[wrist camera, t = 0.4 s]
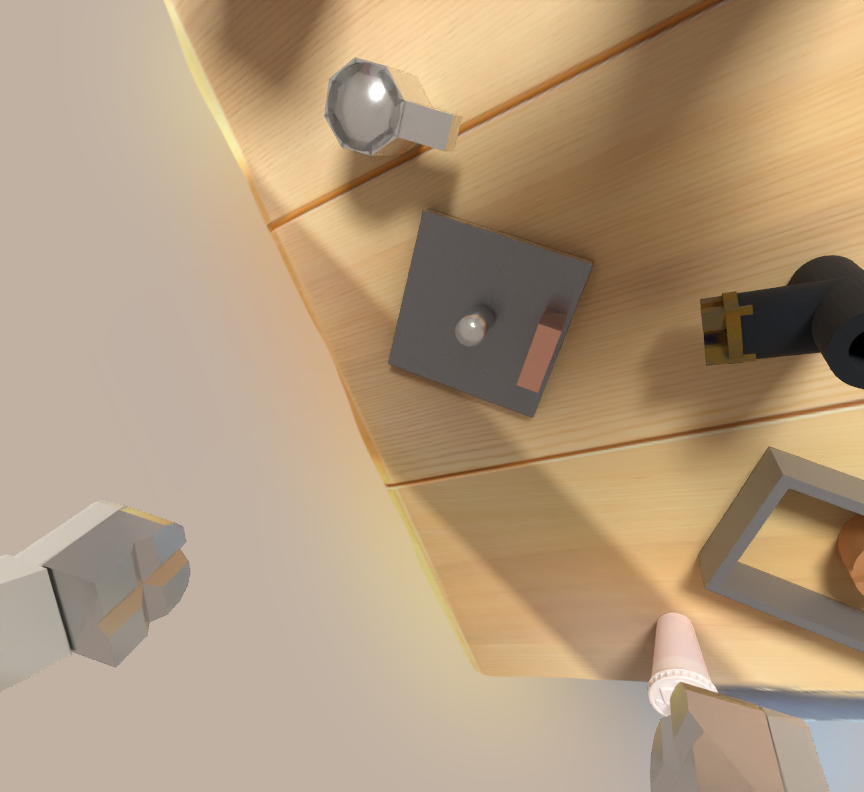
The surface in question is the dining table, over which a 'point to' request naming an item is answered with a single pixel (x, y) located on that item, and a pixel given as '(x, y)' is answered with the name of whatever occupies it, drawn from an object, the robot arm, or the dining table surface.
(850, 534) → the brown oblong hollow piece
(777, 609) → the parts corral
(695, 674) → the smoothie
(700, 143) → the dining table surface
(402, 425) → the dining table surface
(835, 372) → the pipe connector
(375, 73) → the octagonal handled mug
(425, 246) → the grey square stand
